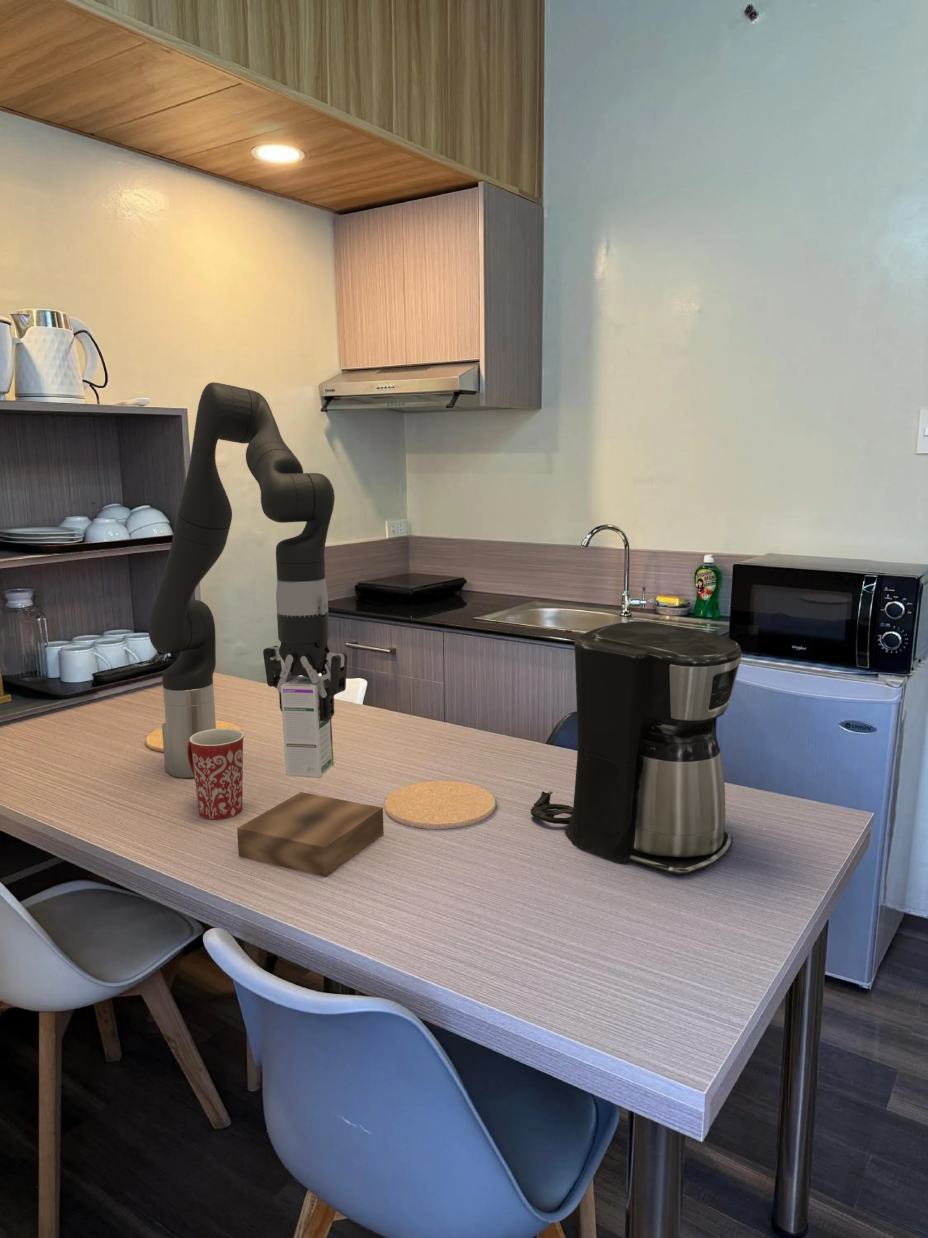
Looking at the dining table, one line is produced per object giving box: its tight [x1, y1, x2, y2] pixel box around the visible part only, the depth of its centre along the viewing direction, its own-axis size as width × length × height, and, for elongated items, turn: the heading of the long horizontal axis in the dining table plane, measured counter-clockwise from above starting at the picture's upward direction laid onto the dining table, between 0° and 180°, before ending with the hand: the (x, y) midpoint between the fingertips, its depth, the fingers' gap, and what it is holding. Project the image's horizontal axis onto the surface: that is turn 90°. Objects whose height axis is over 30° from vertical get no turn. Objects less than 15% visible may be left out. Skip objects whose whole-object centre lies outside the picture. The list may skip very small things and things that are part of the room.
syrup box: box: [281, 675, 335, 779], centre depth 132 cm, size 6×6×14 cm
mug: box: [187, 728, 245, 820], centre depth 149 cm, size 13×9×14 cm
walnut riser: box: [236, 791, 385, 878], centre depth 135 cm, size 16×16×5 cm
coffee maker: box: [530, 620, 742, 877], centre depth 133 cm, size 23×32×34 cm
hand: (307, 716), depth 132 cm, fingers closed on syrup box, 6 cm apart
